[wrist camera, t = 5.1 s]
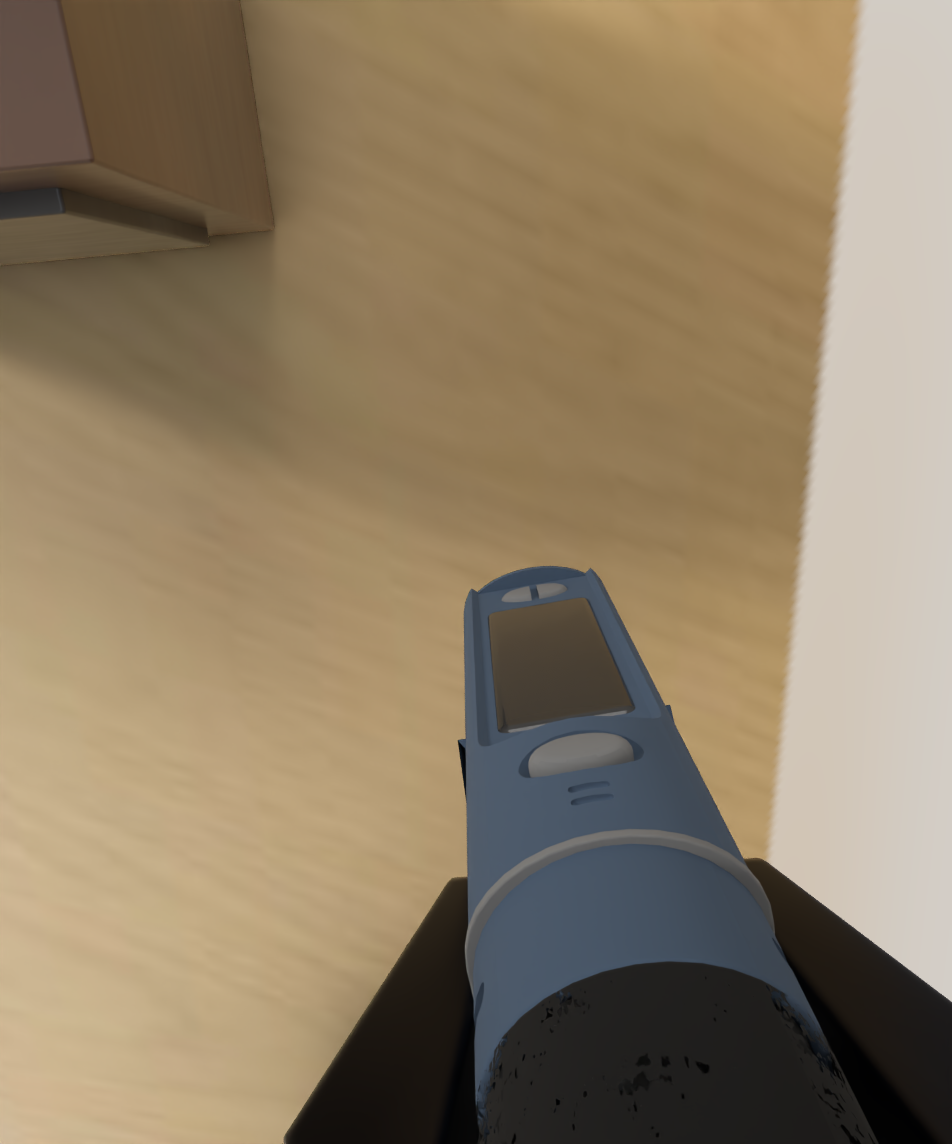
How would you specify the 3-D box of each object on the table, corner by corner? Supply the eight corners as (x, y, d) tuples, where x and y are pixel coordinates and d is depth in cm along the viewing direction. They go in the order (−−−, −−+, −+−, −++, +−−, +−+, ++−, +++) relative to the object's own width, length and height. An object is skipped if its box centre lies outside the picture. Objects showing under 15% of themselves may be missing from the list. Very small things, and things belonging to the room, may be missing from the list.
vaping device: (607, 534, 13) (2042, 2786, 1) (642, 813, 14) (1368, 2851, 3) (445, 562, 13) (325, 2887, 1) (499, 836, 14) (652, 2900, 3)
